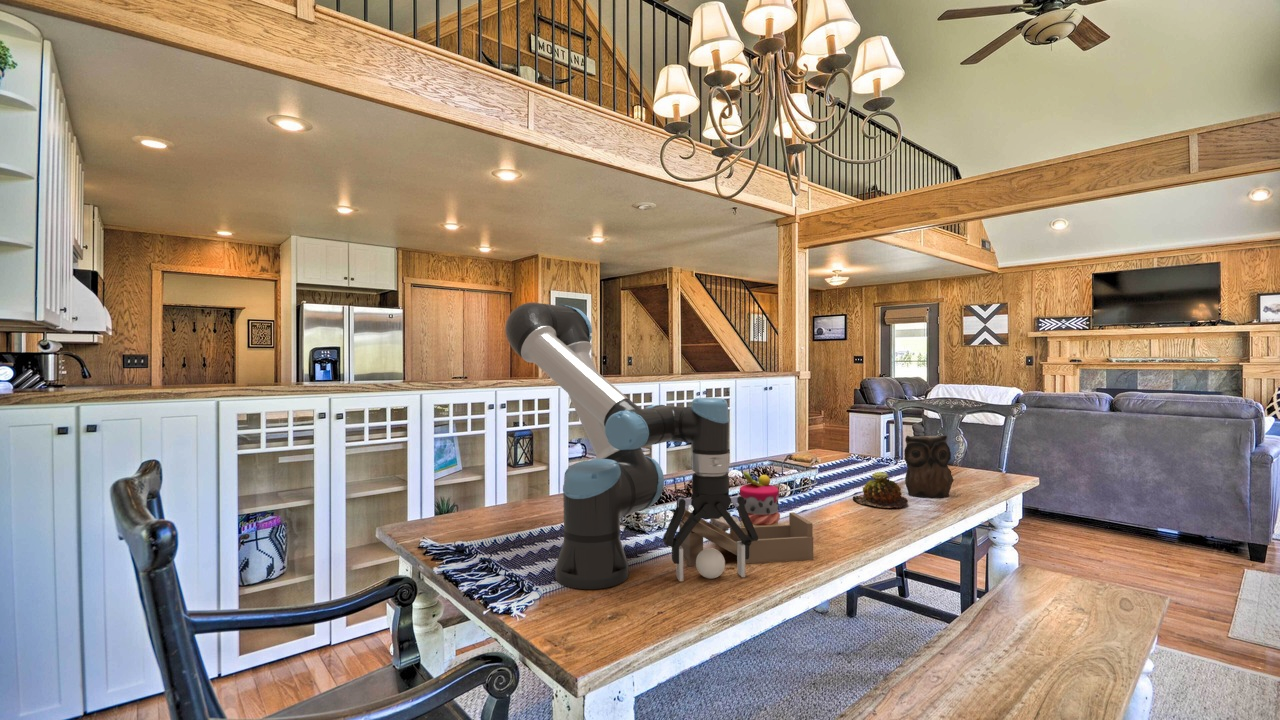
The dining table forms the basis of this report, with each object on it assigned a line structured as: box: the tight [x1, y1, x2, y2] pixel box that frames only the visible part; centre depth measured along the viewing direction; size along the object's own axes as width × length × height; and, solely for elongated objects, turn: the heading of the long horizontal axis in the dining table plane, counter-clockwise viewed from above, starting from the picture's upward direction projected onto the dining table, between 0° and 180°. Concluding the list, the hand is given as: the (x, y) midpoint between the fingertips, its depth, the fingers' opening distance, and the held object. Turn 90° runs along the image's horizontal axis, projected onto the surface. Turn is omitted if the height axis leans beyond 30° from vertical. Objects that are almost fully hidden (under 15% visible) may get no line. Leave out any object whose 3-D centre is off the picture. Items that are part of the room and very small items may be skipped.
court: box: [729, 512, 814, 565], centre depth 138 cm, size 16×11×8 cm, turn 100°
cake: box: [738, 471, 781, 527], centre depth 159 cm, size 10×11×15 cm
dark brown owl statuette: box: [903, 434, 954, 499], centre depth 198 cm, size 13×13×20 cm
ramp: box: [678, 509, 737, 567], centre depth 136 cm, size 13×10×10 cm
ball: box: [695, 547, 726, 580], centre depth 123 cm, size 6×6×6 cm
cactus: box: [852, 471, 909, 509], centre depth 188 cm, size 17×16×10 cm
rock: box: [709, 510, 741, 532], centre depth 147 cm, size 6×14×7 cm, turn 4°
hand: (710, 577), depth 123 cm, fingers open, 12 cm apart
